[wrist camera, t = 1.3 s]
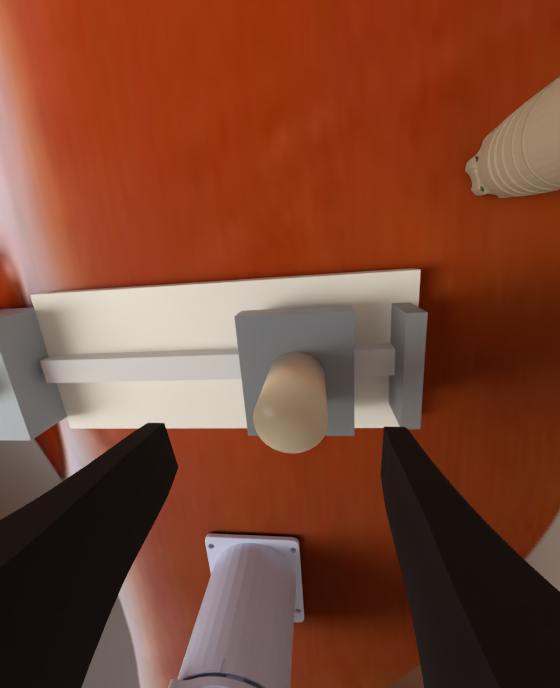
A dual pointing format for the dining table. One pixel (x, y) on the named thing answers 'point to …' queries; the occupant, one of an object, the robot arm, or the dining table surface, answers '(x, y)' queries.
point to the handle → (521, 150)
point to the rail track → (222, 347)
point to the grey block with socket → (25, 378)
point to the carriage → (297, 374)
